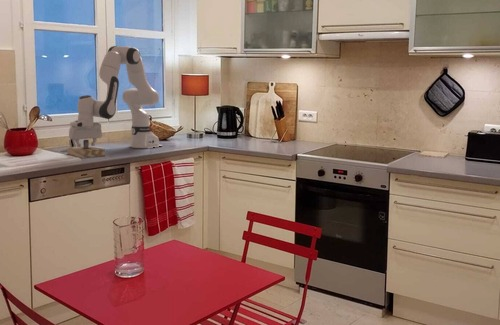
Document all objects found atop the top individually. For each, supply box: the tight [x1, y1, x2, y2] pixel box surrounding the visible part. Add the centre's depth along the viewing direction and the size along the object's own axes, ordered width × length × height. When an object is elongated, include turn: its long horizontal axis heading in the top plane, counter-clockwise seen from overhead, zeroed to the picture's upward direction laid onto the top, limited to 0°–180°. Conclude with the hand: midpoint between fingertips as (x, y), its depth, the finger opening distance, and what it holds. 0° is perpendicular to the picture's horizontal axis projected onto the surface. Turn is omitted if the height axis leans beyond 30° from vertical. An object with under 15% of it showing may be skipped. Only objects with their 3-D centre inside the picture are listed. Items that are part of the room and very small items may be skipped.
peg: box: [83, 139, 90, 149], centre depth 332 cm, size 3×3×9 cm
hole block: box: [66, 145, 106, 159], centre depth 332 cm, size 14×18×4 cm
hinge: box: [68, 138, 91, 147], centre depth 354 cm, size 17×5×10 cm, turn 170°
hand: (86, 146), depth 332 cm, fingers open, 8 cm apart
